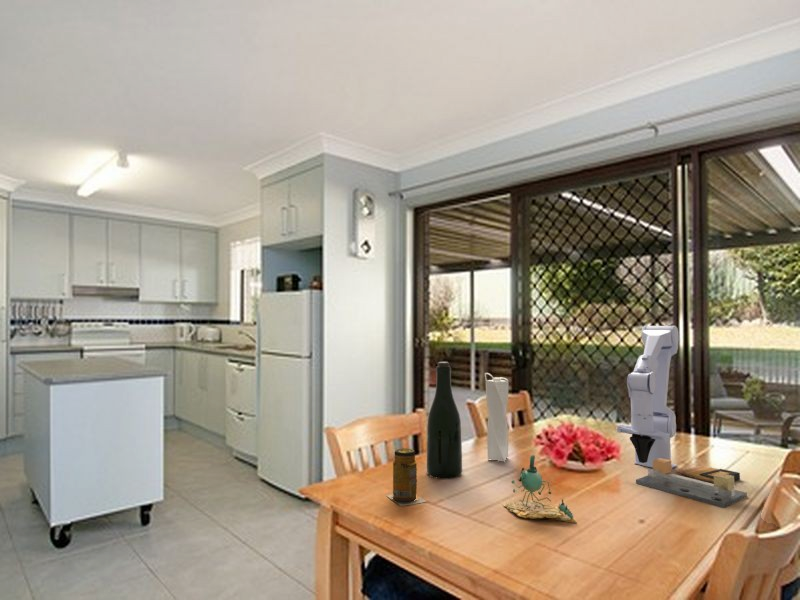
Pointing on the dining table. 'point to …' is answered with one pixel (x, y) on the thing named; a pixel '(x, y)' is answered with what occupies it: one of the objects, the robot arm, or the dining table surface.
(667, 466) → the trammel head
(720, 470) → the ammunition clip
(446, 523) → the dining table surface
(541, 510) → the green creature figurine
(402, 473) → the condiment
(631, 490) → the dining table surface
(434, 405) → the dark green wine bottle
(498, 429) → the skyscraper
